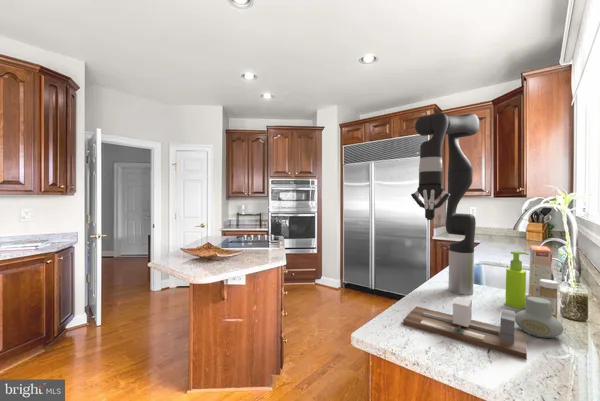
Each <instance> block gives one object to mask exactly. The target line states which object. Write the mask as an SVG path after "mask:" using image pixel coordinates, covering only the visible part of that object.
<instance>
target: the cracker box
mask: <svg viewBox="0 0 600 401" xmlns="http://www.w3.org/2000/svg"><path fill="white" fill-rule="evenodd" d="M529 246H530V248H529V275H528V277H529V278H528V297H539V298H540V285H539V281H540V280H541V279H547V280H552V261H553V260H552V259H553V251H552V250H551V249H550V248H549V247H548V246H546V245H545V246H543V245H533V244H532V245H529Z"/></svg>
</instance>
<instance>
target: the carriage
mask: <svg viewBox="0 0 600 401" xmlns="http://www.w3.org/2000/svg"><path fill="white" fill-rule="evenodd" d="M472 301H473V300H472V299H471V298H466V297H461V296H456V298H455V299H454V300H453V302H452V315H453V323H454V324H458V325H459V326H458V328H457V331H460V329H461V327H462V326H466V327H469V324H470V322H471V320H472V314H473V313H472V312H473V310H472V309H473V308H472V307H473V306H472V305H473V302H472Z"/></svg>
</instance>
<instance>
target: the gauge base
mask: <svg viewBox="0 0 600 401" xmlns="http://www.w3.org/2000/svg"><path fill="white" fill-rule="evenodd" d="M515 315H516V311H513V310H509V309H505V308H501V312H500V326H499V325H495V324H492V323H487V322H482V321H480V320H474V319H471V322H470V324H469V327H466V326H462V327H461V329H460V331H457V328H458V326H459V325H458V324H454V323H453V314H450V313H445V312H442V311H438V310H437V311H436V310H433V309H428V308H424V307H421V306H415V307H414V308H413V309H412V310H410V312H409V313H408V314H407V315H406V316H405V317H404V318H403V320H402V325H404V326H407V327H411V328H414V329H418V330H422V331H424V332H428V333H432V334H435V335H439V336H442V337H446V338H449V339H452V340H457V341H460V342H463V343H465V344H466V343H467V344H470V345H475V346H477V347H481V348H485V349H488V350H492V351H495V352H498V353H502V354H505V355H508V356H513V357H516V358H519V359H523V360H528V359H527V357H528V356H527V355H528V354H527V339H526V336H527V335H526V331H520V330H517V329H515V327H516V326H515V325H516V324H515V323H516V322H515Z"/></svg>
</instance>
